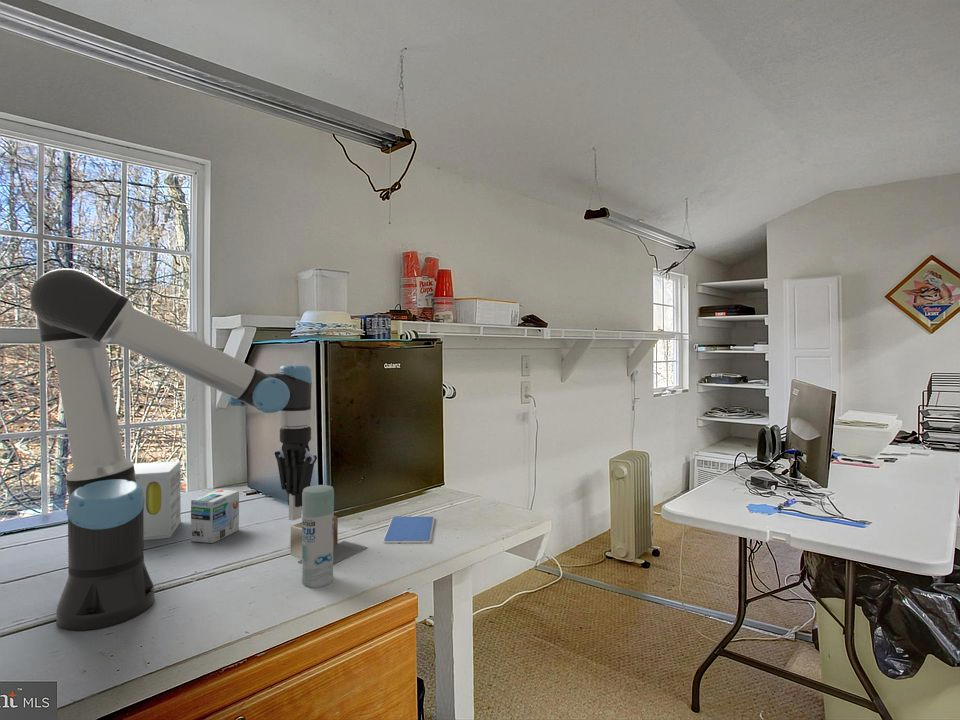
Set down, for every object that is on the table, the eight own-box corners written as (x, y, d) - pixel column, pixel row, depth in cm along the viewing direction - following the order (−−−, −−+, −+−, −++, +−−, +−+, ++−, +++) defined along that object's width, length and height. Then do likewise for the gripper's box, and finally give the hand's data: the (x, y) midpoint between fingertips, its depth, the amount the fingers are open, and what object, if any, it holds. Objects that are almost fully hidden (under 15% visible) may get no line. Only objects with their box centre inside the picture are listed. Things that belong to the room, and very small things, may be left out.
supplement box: (110, 544, 131) (109, 474, 130) (126, 526, 143) (126, 463, 143) (170, 538, 135) (170, 471, 134) (181, 521, 148) (181, 460, 147)
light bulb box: (212, 544, 132) (212, 501, 131) (189, 541, 133) (189, 499, 133) (240, 529, 142) (240, 490, 142) (218, 527, 144) (218, 488, 143)
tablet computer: (431, 546, 134) (431, 540, 134) (381, 546, 134) (381, 541, 134) (434, 520, 154) (434, 516, 153) (391, 520, 153) (391, 516, 153)
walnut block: (303, 529, 123) (337, 516, 133) (290, 526, 126) (324, 513, 135) (303, 559, 124) (337, 543, 133) (290, 555, 126) (324, 540, 135)
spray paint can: (339, 581, 112) (339, 489, 112) (310, 591, 108) (311, 495, 107) (324, 571, 117) (324, 483, 116) (296, 580, 113) (296, 488, 112)
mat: (322, 569, 118) (322, 569, 118) (297, 562, 122) (297, 561, 122) (367, 547, 131) (367, 547, 131) (343, 541, 135) (343, 540, 135)
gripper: (325, 426, 132) (324, 518, 133) (289, 422, 139) (289, 510, 139) (302, 430, 126) (301, 527, 126) (265, 425, 132) (265, 518, 133)
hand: (295, 518), depth 133 cm, fingers closed
